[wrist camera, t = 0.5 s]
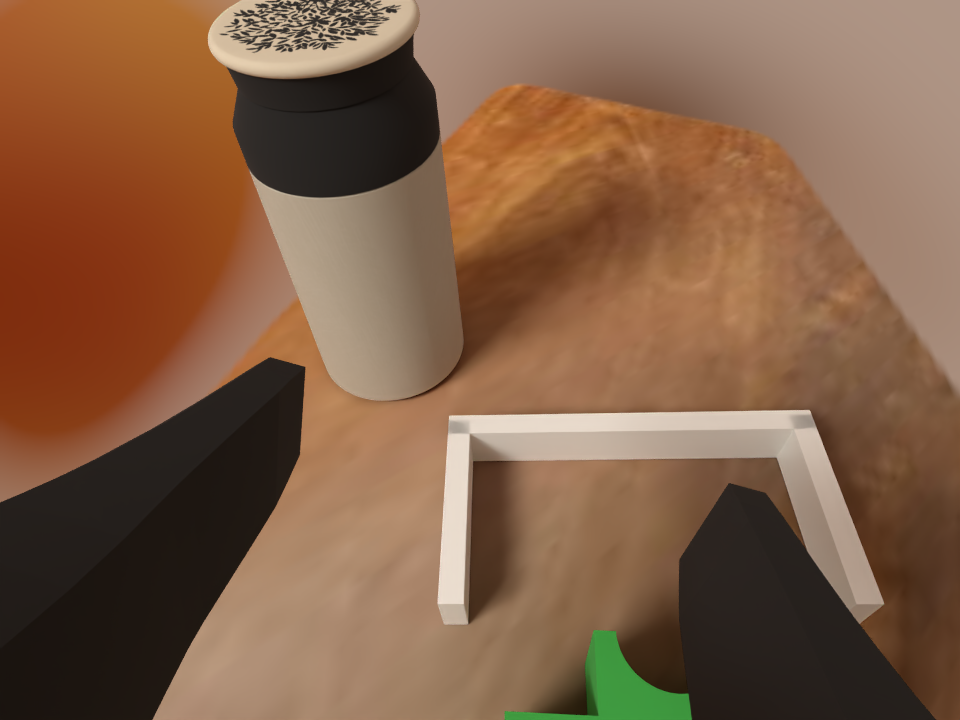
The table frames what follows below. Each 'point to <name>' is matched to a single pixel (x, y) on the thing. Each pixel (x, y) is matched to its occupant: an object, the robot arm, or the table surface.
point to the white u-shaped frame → (659, 439)
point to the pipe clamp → (617, 690)
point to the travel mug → (350, 182)
